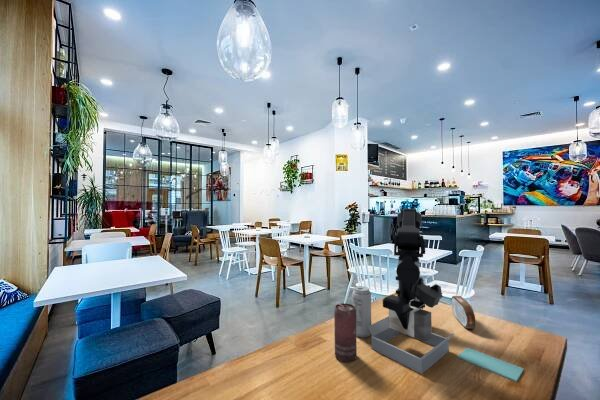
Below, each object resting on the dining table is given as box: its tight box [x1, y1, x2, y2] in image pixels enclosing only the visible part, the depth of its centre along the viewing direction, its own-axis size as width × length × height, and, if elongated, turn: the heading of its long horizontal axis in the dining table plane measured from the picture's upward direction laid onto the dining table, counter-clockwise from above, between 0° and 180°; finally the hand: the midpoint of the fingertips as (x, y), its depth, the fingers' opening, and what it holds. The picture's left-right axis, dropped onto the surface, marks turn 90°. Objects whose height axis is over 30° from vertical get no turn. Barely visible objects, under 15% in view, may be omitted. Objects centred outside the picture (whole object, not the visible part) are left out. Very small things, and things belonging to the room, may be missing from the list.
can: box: [333, 303, 358, 363], centre depth 75 cm, size 6×6×14 cm
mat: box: [457, 347, 525, 382], centre depth 71 cm, size 13×7×1 cm, turn 39°
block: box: [388, 306, 433, 343], centre depth 78 cm, size 11×4×7 cm, turn 39°
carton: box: [368, 315, 455, 375], centre depth 78 cm, size 19×16×6 cm
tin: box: [450, 295, 477, 330], centre depth 95 cm, size 15×3×8 cm, turn 168°
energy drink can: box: [351, 285, 372, 338], centre depth 88 cm, size 6×6×15 cm
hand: (409, 326), depth 78 cm, fingers closed on block, 4 cm apart
